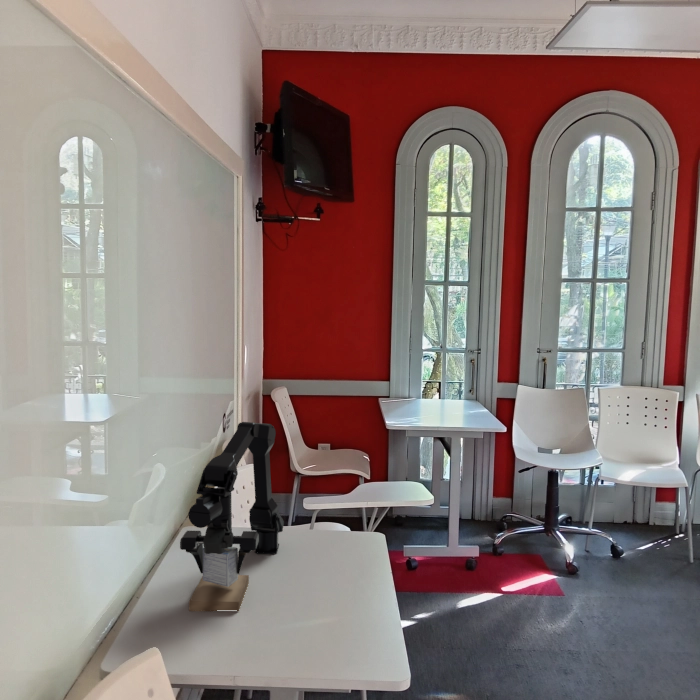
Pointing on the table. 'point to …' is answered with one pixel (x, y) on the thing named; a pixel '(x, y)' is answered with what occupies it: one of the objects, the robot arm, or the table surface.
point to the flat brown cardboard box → (219, 595)
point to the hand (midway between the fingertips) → (220, 573)
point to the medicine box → (221, 567)
